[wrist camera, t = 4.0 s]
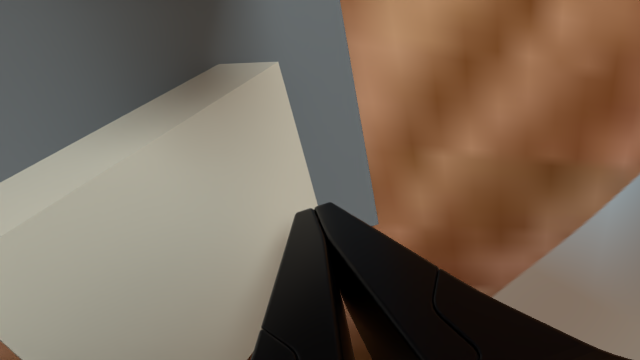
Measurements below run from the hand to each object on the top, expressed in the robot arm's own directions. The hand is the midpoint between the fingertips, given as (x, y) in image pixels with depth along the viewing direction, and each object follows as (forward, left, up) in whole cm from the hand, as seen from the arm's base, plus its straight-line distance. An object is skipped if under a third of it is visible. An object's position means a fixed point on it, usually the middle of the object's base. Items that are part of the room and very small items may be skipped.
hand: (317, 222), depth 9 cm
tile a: (0, 0, -3) cm, 3 cm away
